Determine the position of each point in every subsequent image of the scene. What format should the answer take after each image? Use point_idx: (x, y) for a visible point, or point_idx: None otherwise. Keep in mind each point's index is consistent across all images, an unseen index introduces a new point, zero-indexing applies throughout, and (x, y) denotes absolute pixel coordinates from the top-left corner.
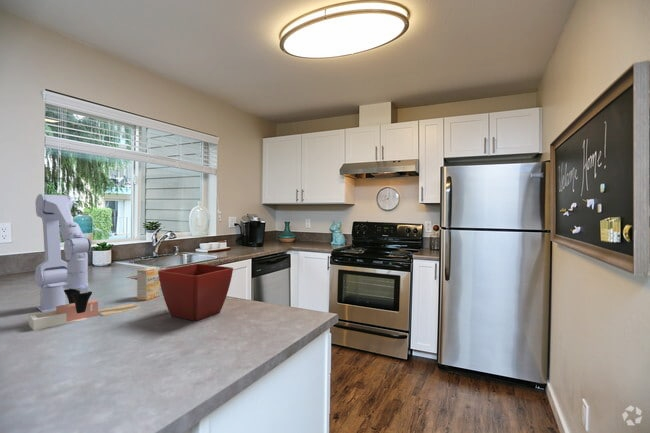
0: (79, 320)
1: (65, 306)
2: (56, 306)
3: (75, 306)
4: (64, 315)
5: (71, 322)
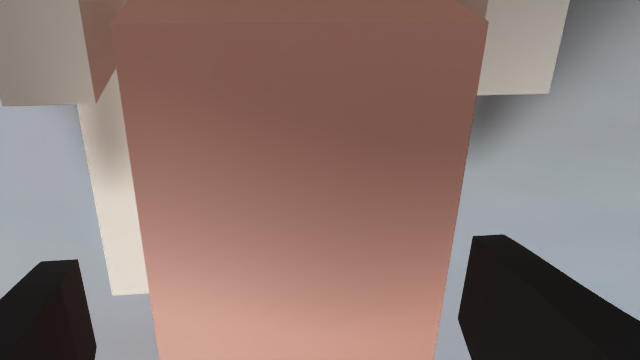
0: (107, 208)
1: (247, 186)
2: (452, 22)
3: (158, 331)
4: (8, 58)
5: (79, 108)
